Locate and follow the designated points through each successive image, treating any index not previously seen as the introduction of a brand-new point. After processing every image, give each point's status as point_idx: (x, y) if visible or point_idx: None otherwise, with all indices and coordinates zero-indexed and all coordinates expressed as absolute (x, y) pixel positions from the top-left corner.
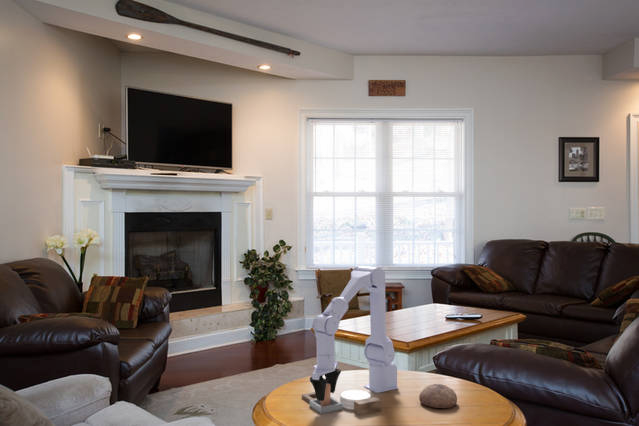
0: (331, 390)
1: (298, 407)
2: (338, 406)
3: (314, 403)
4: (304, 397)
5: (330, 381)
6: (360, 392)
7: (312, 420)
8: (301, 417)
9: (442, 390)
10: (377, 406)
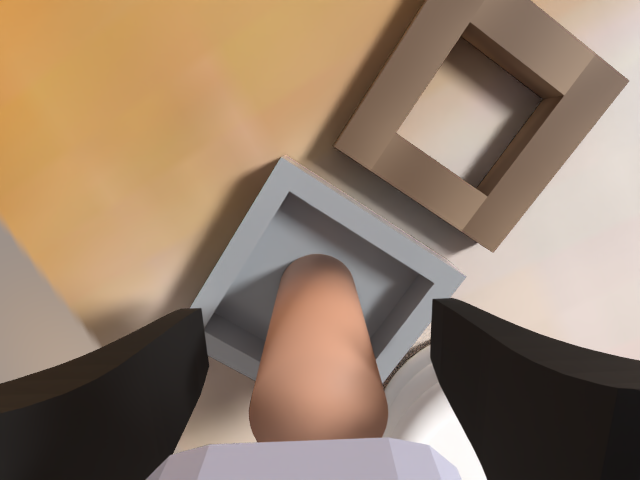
0: (439, 351)
1: (225, 71)
2: None
3: (235, 239)
4: (418, 12)
5: (487, 404)
6: None
7: (70, 309)
8: (63, 212)
9: None
10: None
